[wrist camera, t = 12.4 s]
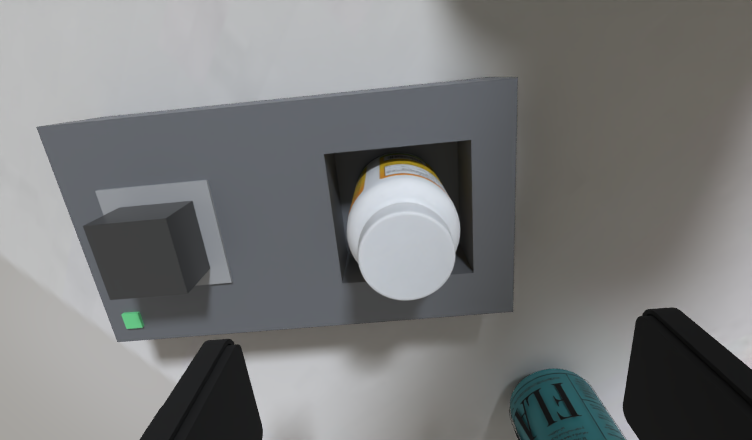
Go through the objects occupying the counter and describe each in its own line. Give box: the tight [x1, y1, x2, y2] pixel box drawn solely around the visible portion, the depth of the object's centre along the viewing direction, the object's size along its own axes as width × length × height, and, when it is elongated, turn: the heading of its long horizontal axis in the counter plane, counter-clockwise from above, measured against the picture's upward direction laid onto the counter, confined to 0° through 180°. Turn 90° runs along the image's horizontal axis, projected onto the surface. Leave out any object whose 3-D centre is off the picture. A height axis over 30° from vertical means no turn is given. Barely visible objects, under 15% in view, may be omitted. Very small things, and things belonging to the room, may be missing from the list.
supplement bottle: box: [347, 152, 460, 300], centre depth 21 cm, size 5×5×10 cm
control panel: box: [37, 77, 518, 342], centre depth 23 cm, size 24×13×8 cm, turn 96°
